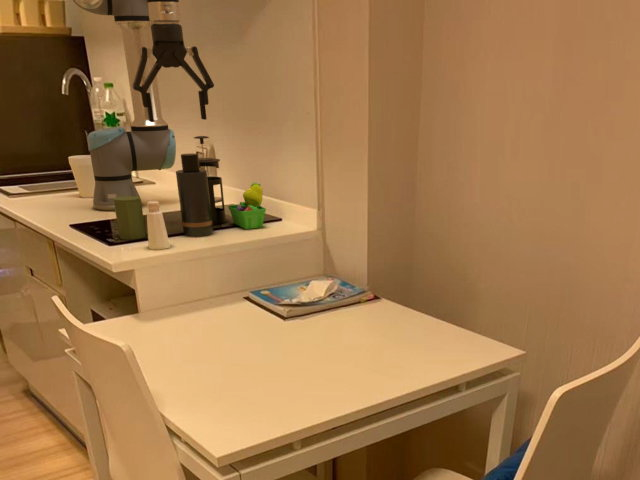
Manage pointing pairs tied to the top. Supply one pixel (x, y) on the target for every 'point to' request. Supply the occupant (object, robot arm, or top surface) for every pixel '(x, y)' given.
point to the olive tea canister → (129, 217)
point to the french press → (216, 213)
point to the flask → (194, 197)
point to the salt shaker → (156, 227)
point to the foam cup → (83, 174)
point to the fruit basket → (249, 209)
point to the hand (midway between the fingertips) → (178, 120)
